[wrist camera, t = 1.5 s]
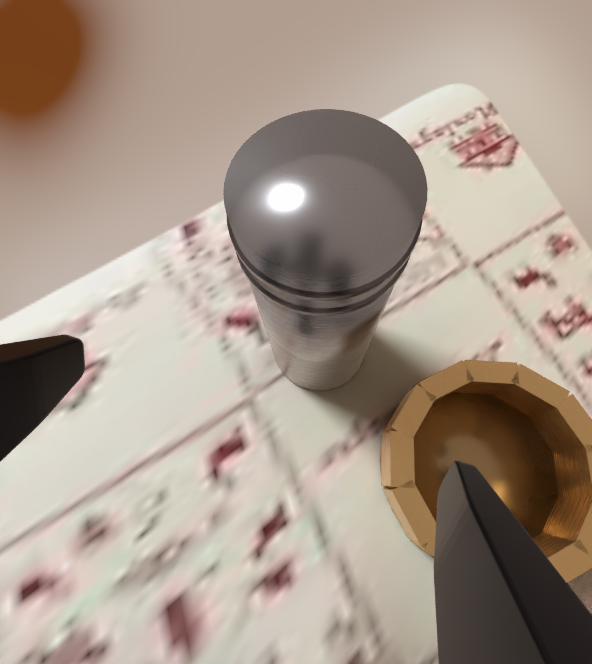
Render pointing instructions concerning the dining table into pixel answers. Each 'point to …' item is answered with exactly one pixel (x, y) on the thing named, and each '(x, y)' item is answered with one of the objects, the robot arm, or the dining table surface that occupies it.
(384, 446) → the ring collar
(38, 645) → the dining table surface
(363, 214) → the grey metal cylinder
